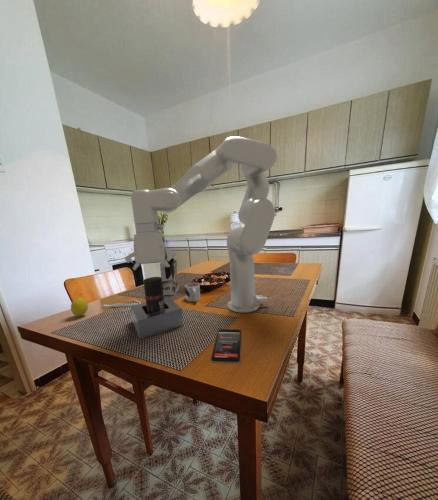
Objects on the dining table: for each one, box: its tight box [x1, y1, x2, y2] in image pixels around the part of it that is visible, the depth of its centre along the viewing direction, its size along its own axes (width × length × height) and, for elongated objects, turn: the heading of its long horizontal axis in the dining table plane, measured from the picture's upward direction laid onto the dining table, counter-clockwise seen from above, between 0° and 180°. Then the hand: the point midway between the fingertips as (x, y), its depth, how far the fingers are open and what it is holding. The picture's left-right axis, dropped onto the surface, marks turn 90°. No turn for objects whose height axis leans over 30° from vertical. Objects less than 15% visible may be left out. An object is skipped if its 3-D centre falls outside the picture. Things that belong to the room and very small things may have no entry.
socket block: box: [130, 296, 184, 340], centre depth 71 cm, size 14×14×6 cm
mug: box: [184, 282, 201, 303], centre depth 91 cm, size 10×7×7 cm
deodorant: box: [143, 276, 165, 314], centre depth 70 cm, size 6×6×15 cm
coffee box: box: [159, 259, 179, 296], centre depth 103 cm, size 9×6×16 cm
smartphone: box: [210, 328, 242, 364], centre depth 57 cm, size 7×1×15 cm
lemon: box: [70, 296, 89, 318], centre depth 80 cm, size 6×6×8 cm
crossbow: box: [102, 298, 142, 313], centre depth 89 cm, size 16×13×2 cm
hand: (154, 279), depth 69 cm, fingers open, 9 cm apart
